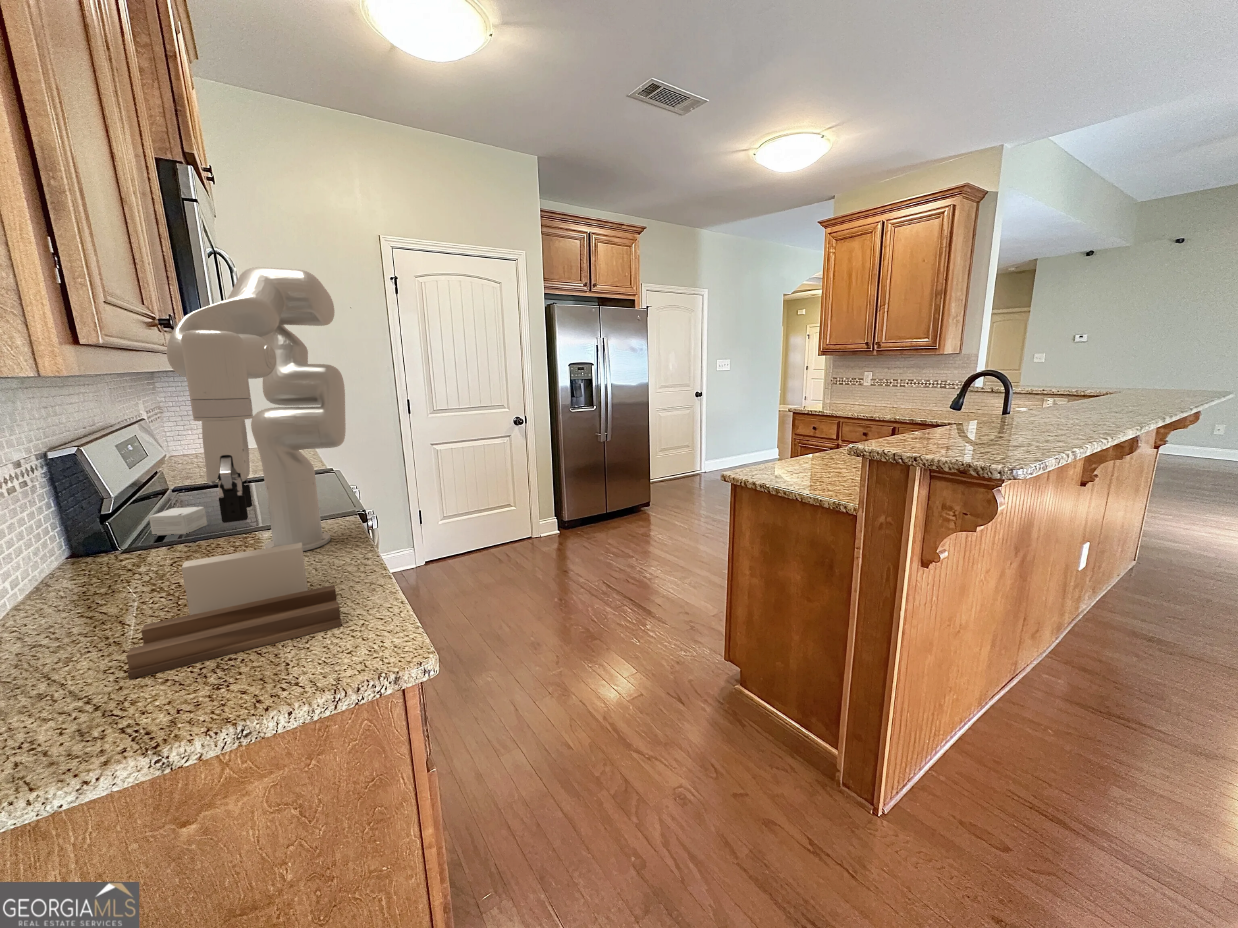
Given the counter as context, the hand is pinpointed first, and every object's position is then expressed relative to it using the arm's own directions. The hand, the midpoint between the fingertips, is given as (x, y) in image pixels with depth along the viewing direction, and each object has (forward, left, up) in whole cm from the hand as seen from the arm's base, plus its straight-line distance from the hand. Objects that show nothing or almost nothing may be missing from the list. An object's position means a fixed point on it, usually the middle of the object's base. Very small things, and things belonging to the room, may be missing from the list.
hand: (238, 514), depth 80 cm
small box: (-61, -18, -16) cm, 65 cm away
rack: (+12, 0, -16) cm, 20 cm away
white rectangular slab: (0, 0, -16) cm, 16 cm away
